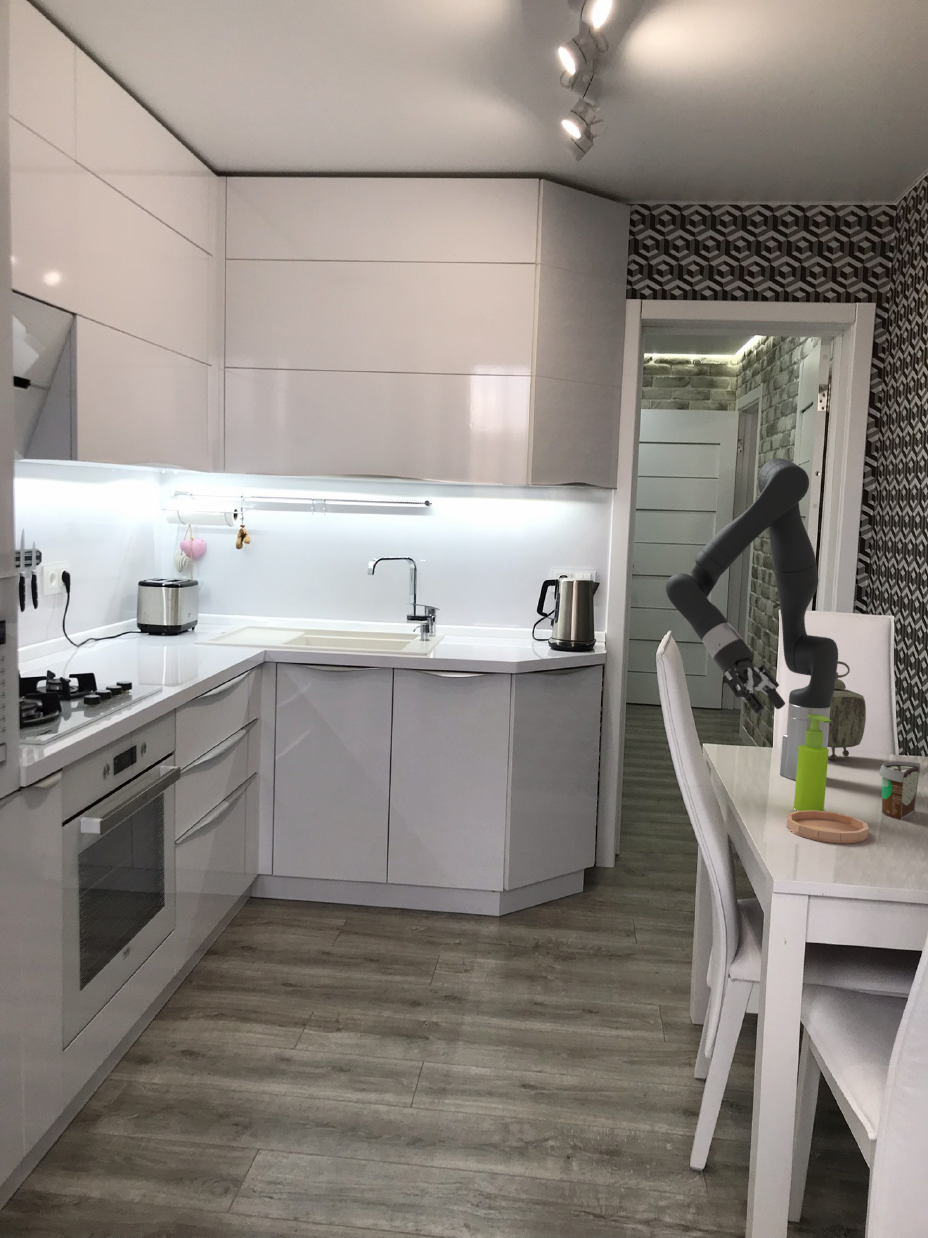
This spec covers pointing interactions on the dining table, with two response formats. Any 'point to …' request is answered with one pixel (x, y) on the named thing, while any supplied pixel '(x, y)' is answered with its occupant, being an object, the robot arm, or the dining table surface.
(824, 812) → the terracotta dish
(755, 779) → the dining table surface
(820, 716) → the soap dispenser
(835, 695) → the tabletop clock
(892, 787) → the food container
